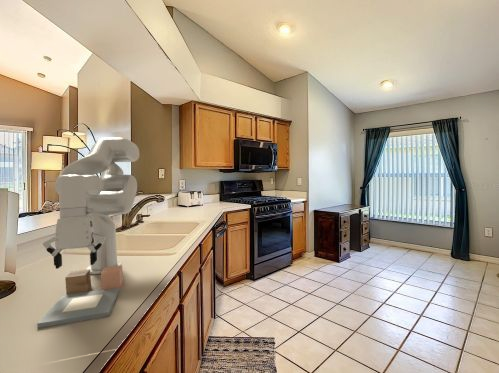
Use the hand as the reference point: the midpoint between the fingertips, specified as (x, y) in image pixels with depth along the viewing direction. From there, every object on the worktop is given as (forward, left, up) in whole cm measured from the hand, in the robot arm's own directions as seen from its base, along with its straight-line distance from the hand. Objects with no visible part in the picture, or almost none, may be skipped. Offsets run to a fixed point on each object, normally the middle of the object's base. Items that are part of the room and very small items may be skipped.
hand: (76, 265), depth 84 cm
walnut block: (-1, 0, -9) cm, 9 cm away
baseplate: (+12, +5, -9) cm, 16 cm away
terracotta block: (-1, +10, -9) cm, 14 cm away
